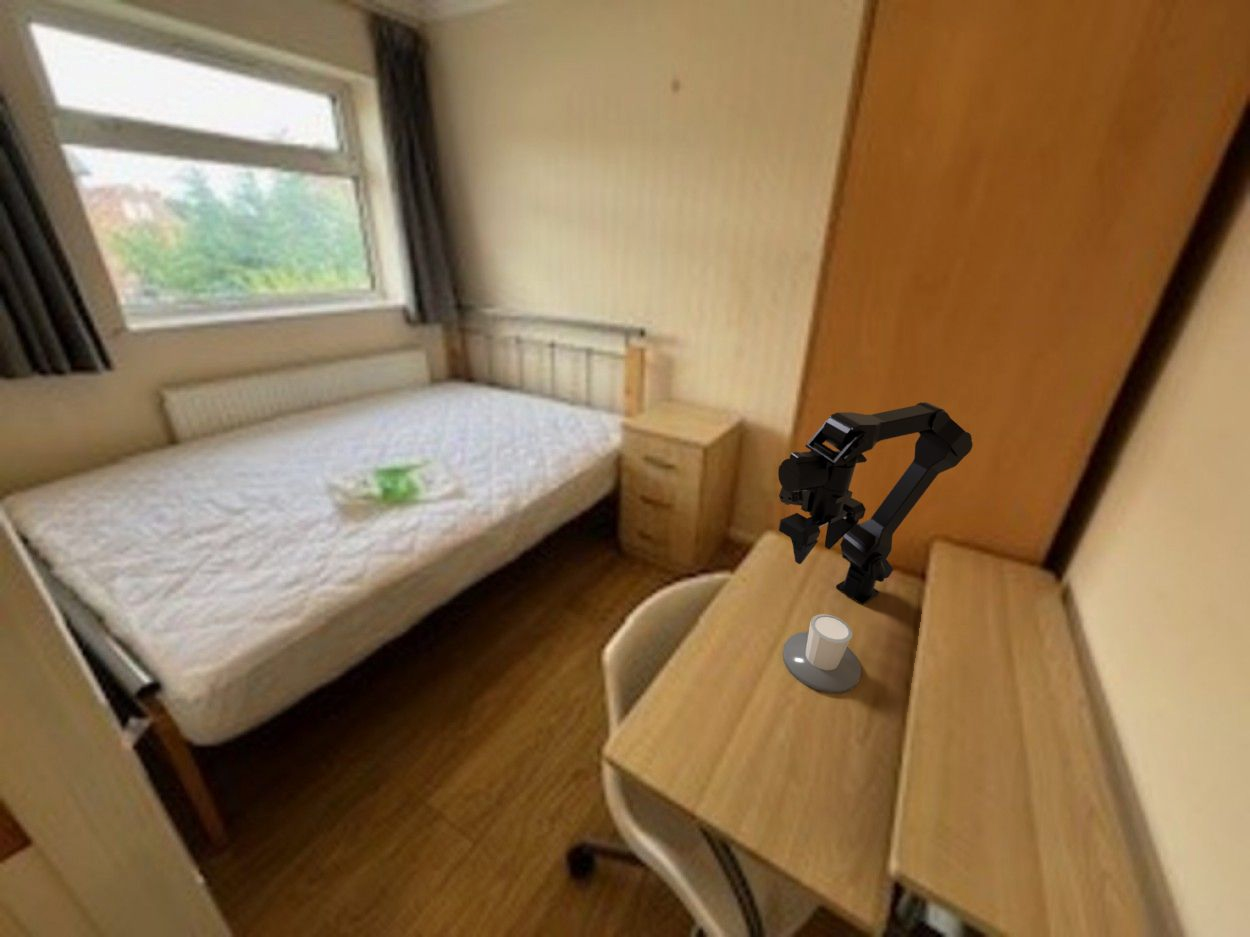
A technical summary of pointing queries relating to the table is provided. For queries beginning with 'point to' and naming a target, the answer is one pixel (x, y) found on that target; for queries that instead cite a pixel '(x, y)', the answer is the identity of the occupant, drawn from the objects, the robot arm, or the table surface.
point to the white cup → (827, 641)
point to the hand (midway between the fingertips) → (813, 555)
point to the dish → (819, 678)
